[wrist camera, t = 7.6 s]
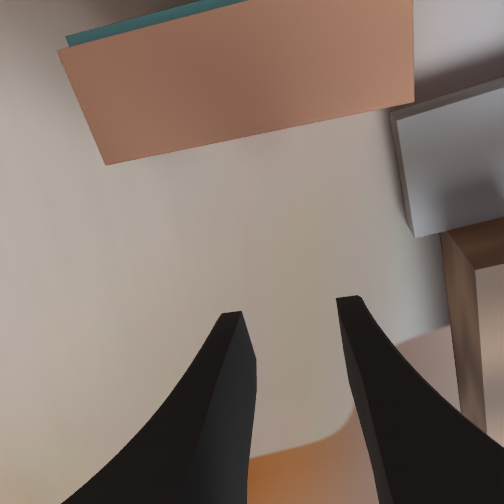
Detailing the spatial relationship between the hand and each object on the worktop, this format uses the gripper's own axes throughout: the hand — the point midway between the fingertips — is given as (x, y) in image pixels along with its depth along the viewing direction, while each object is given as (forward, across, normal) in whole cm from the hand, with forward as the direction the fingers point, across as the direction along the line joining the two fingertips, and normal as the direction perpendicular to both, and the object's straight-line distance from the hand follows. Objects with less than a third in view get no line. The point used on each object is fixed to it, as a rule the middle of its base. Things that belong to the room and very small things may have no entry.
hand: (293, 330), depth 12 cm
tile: (+7, 0, -7) cm, 10 cm away
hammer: (+7, -8, +6) cm, 12 cm away
